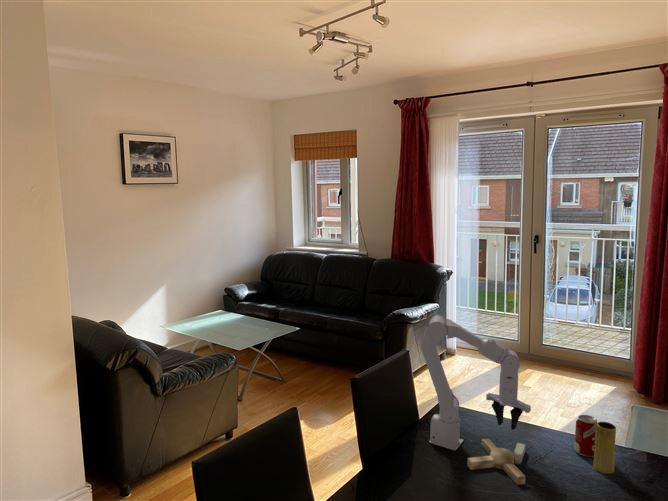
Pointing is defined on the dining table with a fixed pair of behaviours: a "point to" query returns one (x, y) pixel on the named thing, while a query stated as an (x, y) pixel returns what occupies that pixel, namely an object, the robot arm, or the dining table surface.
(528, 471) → the dining table surface
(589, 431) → the soda can
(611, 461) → the vase
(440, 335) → the robot arm
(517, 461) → the hinged leg
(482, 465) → the stool base
